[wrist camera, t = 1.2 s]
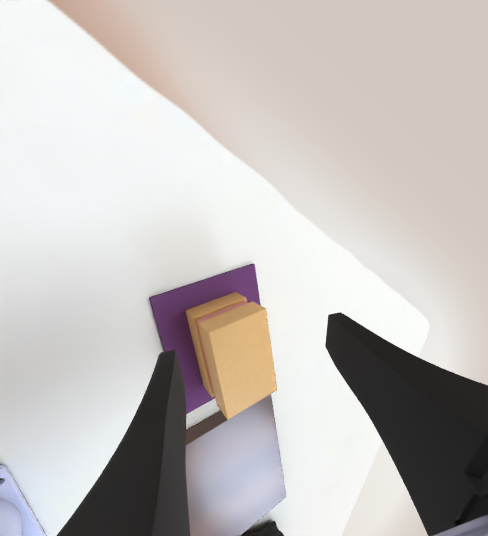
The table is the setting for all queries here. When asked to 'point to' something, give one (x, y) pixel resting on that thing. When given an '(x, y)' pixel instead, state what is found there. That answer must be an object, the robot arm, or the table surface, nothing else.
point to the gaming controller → (267, 531)
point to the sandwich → (233, 351)
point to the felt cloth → (177, 327)
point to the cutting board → (233, 471)
